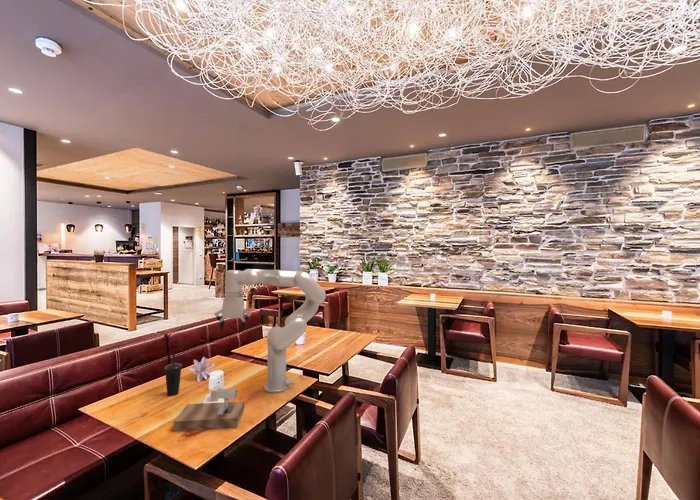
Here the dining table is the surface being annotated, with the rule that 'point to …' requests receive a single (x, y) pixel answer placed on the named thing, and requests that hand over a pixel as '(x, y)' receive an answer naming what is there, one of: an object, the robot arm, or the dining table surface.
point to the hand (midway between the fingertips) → (232, 329)
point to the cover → (213, 396)
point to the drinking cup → (173, 378)
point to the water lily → (201, 368)
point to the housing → (208, 416)
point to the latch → (225, 398)
